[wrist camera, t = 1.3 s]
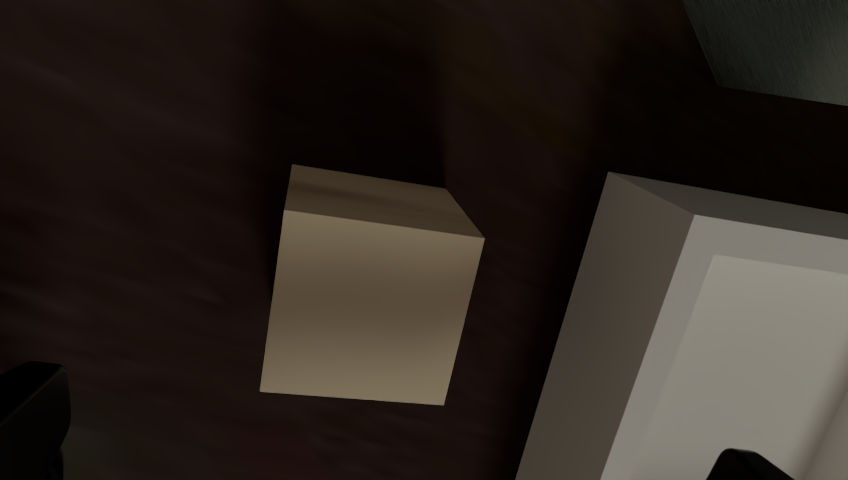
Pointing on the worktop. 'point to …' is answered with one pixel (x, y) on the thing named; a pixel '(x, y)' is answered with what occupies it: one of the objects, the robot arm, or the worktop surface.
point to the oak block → (368, 289)
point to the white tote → (698, 340)
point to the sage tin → (776, 46)
